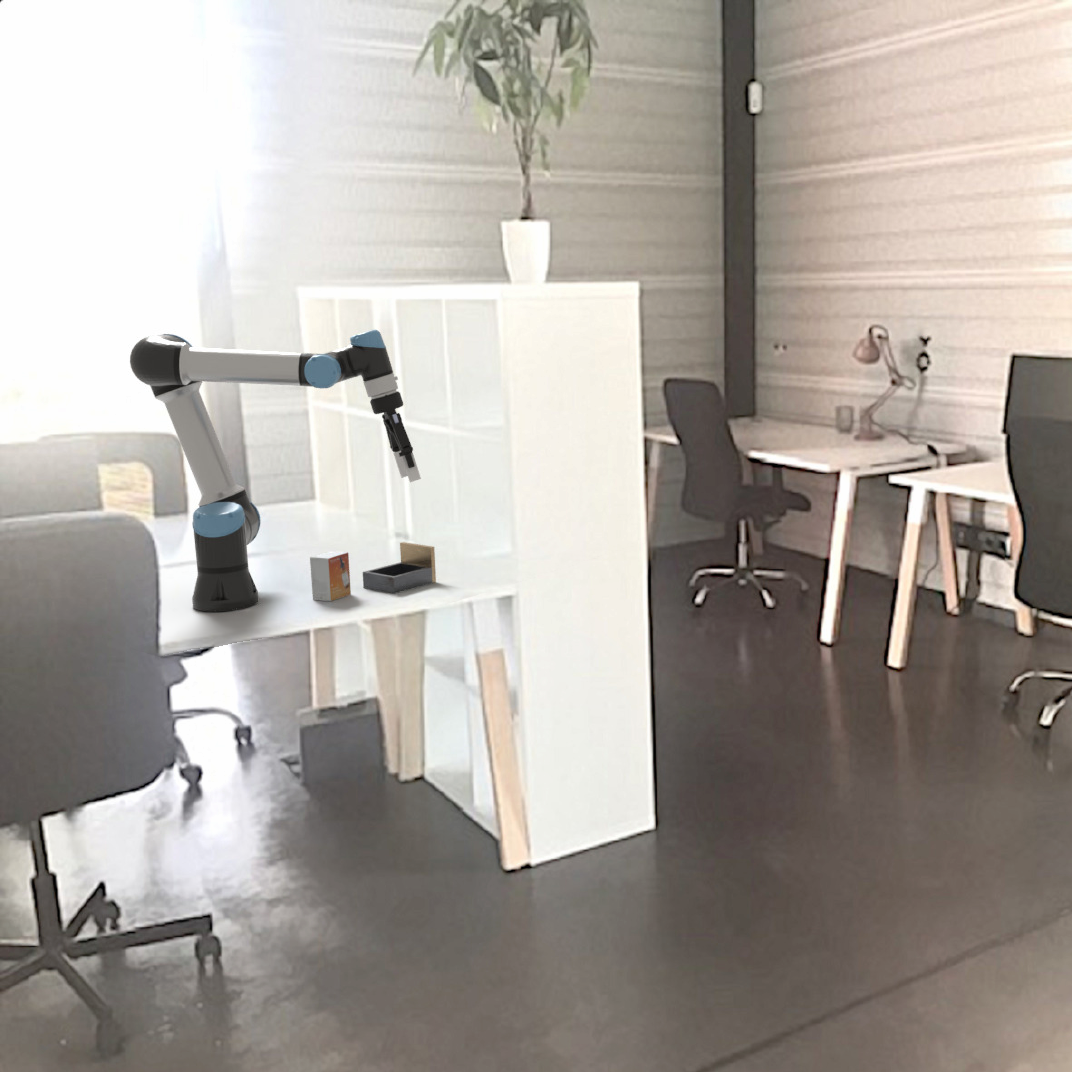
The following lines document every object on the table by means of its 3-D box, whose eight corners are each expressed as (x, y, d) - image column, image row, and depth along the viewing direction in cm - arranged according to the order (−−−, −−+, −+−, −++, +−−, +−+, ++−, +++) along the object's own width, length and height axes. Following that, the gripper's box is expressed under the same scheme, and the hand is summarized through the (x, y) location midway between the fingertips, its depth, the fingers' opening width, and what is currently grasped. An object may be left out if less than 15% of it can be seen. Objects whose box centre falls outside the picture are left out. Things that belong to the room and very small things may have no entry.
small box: (330, 602, 278) (327, 558, 276) (312, 600, 281) (309, 556, 279) (351, 594, 285) (349, 551, 283) (333, 592, 288) (330, 550, 286)
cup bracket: (363, 587, 291) (361, 552, 289) (405, 576, 302) (403, 542, 300) (394, 593, 284) (392, 557, 282) (436, 582, 295) (434, 546, 293)
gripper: (406, 390, 273) (434, 477, 277) (391, 389, 297) (417, 469, 301) (375, 399, 272) (404, 487, 276) (363, 398, 296) (389, 479, 300)
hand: (411, 478), depth 289 cm, fingers open, 13 cm apart
